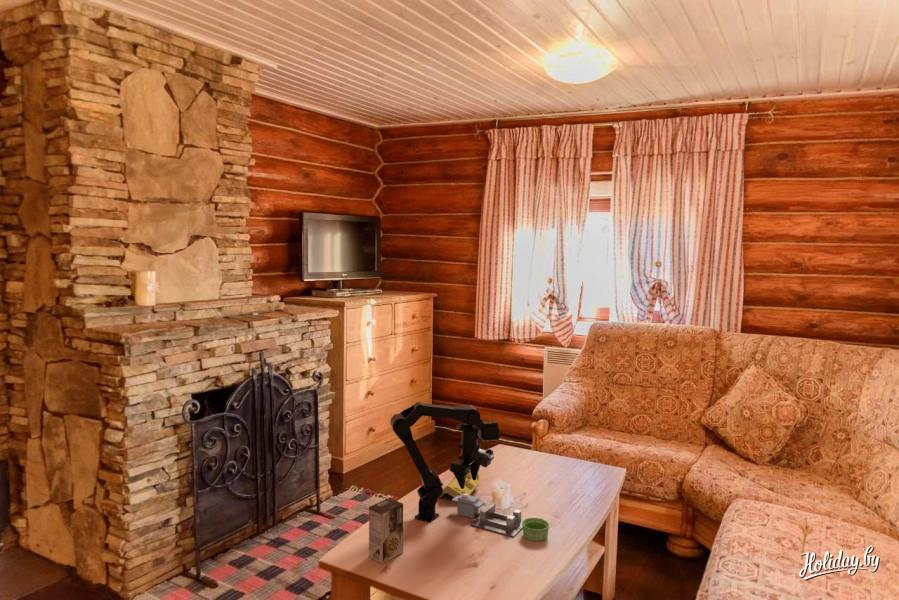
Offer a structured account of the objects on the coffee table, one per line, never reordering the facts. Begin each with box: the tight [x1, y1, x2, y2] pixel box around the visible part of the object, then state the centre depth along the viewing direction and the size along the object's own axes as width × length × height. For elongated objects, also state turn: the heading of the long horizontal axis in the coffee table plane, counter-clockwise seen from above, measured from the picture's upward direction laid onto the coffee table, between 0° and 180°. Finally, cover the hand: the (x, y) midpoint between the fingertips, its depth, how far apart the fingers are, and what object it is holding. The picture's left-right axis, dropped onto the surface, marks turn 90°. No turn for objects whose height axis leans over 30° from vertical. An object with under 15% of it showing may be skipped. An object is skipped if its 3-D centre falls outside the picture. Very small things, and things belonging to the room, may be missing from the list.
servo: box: [451, 493, 485, 519], centre depth 219 cm, size 4×11×7 cm, turn 61°
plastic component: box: [439, 470, 481, 498], centre depth 238 cm, size 20×7×10 cm
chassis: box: [470, 502, 526, 538], centre depth 212 cm, size 14×16×4 cm
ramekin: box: [522, 517, 550, 542], centre depth 204 cm, size 9×9×4 cm
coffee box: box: [368, 497, 404, 565], centre depth 188 cm, size 9×6×16 cm
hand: (468, 484), depth 218 cm, fingers open, 9 cm apart
